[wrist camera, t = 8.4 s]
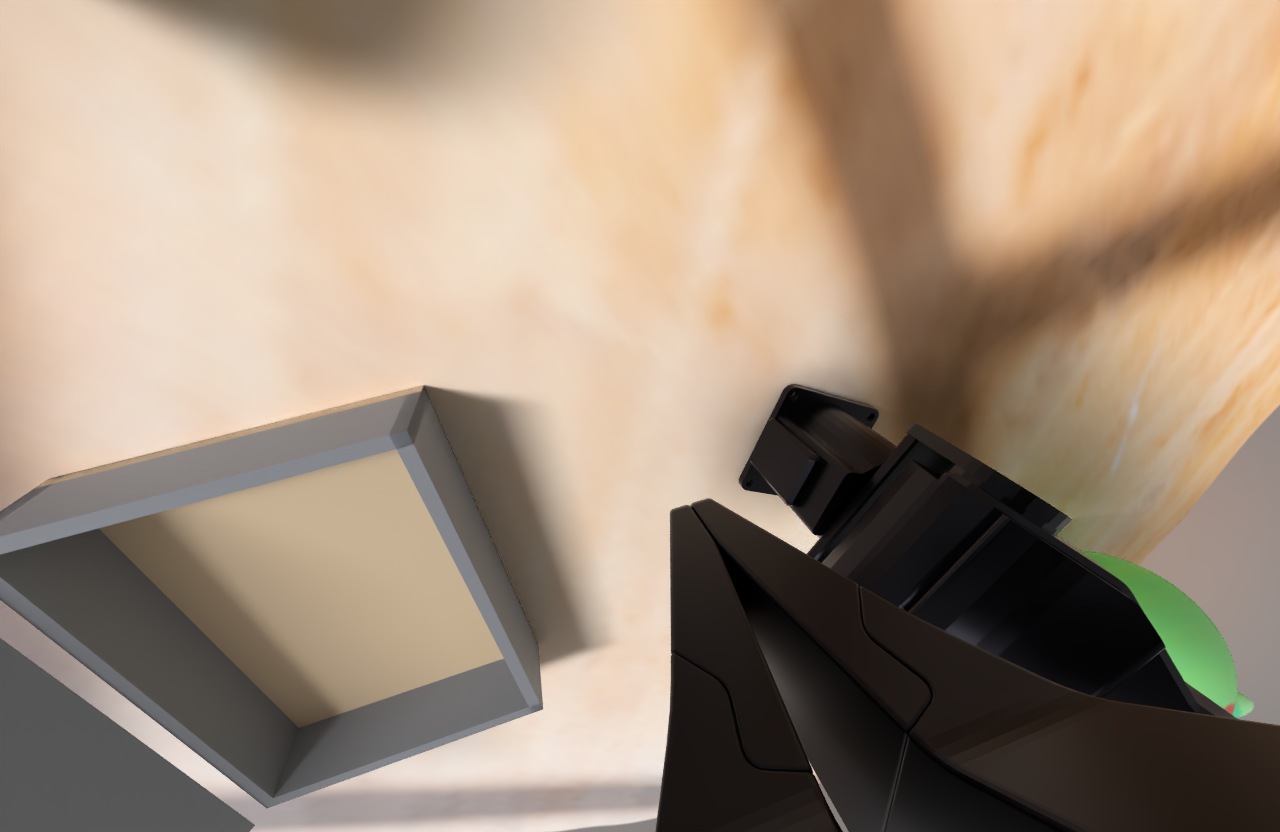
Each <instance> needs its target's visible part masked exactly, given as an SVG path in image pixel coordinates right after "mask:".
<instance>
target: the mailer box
mask: <svg viewBox="0 0 1280 832" xmlns="http://www.w3.org/2000/svg"><path fill="white" fill-rule="evenodd" d="M0 600H1V601H3V602H4V603H5V604H6V605H8V606H9V607H10V608H12V609H13V610H14V611H15V612H17V613H18V614H19V615H20V616H22V617H23V618H24V619H26V620H27V621H28V622H29V623H31V624H32V625H33V626H35V627H36V628H37V629H38V630H40V631H41V632H42V633H43V634H45V635H46V636H47V637H49V638H50V639H51V640H52V641H54V642H55V643H56V644H58V645H59V646H60V647H61V648H63V649H64V650H65V651H66V652H68V653H69V654H70V655H72V656H73V657H74V658H75V659H77V660H78V661H79V662H81V663H82V664H83V665H84V666H86V667H87V668H88V669H89V670H91V671H92V672H93V673H95V674H96V675H97V676H98V677H100V678H101V679H102V680H104V681H105V682H106V683H107V684H109V685H110V686H111V687H112V688H114V689H115V690H116V691H118V692H119V693H120V694H121V695H123V696H124V697H125V698H127V699H128V700H129V701H130V702H132V703H133V704H134V705H135V706H137V707H138V708H139V709H141V710H142V711H143V712H144V713H146V714H147V715H148V716H150V717H151V718H152V719H153V720H155V721H156V722H157V723H158V724H160V725H161V726H162V727H164V728H165V729H166V730H167V731H169V732H170V733H171V734H173V735H174V736H175V737H176V738H178V739H179V740H180V741H181V742H183V743H184V744H185V745H187V746H188V747H189V748H190V749H192V750H193V751H194V752H195V753H197V754H198V755H199V756H201V757H202V758H203V759H204V760H206V761H207V762H208V763H210V764H211V765H212V766H213V767H215V768H216V769H217V770H218V771H220V772H221V773H222V774H224V775H225V776H226V777H227V778H229V779H230V780H231V781H233V782H234V783H235V784H236V785H238V786H239V787H240V788H241V789H243V790H244V791H245V792H247V793H248V794H249V795H250V796H252V797H253V798H254V799H256V800H257V801H258V802H259V803H261V804H262V805H263V806H264V807H266V808H269V807H272V806H275V805H277V804H280V803H283V802H286V801H289V800H291V799H294V798H297V797H300V796H302V795H305V794H308V793H311V792H314V791H316V790H319V789H322V788H325V787H328V786H330V785H333V784H336V783H339V782H341V781H344V780H347V779H350V778H353V777H355V776H358V775H361V774H364V773H367V772H369V771H372V770H375V769H378V768H380V767H383V766H386V765H389V764H392V763H394V762H397V761H400V760H403V759H406V758H408V757H411V756H414V755H417V754H419V753H422V752H425V751H428V750H431V749H433V748H436V747H439V746H442V745H445V744H447V743H450V742H453V741H456V740H458V739H461V738H464V737H467V736H470V735H472V734H475V733H478V732H481V731H484V730H486V729H489V728H492V727H495V726H497V725H500V724H503V723H506V722H509V721H511V720H514V719H517V718H520V717H522V716H525V715H528V714H531V713H534V712H536V711H539V710H542V709H543V702H542V689H541V676H540V662H539V649H538V643H537V641H536V639H535V636H534V634H533V632H532V630H531V627H530V625H529V623H528V621H527V618H526V616H525V614H524V612H523V609H522V607H521V605H520V603H519V600H518V598H517V596H516V594H515V591H514V589H513V587H512V584H511V582H510V580H509V578H508V575H507V573H506V571H505V569H504V566H503V564H502V562H501V560H500V557H499V555H498V553H497V551H496V548H495V546H494V544H493V542H492V539H491V537H490V535H489V533H488V530H487V528H486V526H485V523H484V521H483V519H482V517H481V514H480V512H479V510H478V508H477V505H476V503H475V501H474V499H473V496H472V494H471V492H470V490H469V487H468V485H467V483H466V481H465V478H464V476H463V474H462V471H461V469H460V467H459V465H458V462H457V460H456V458H455V456H454V453H453V451H452V449H451V447H450V444H449V442H448V440H447V438H446V435H445V433H444V431H443V429H442V426H441V424H440V422H439V420H438V417H437V415H436V413H435V410H434V408H433V406H432V404H431V401H430V399H429V397H428V395H427V392H426V390H425V388H424V386H419V387H415V388H411V389H407V390H403V391H399V392H395V393H391V394H387V395H383V396H379V397H375V398H371V399H367V400H363V401H359V402H355V403H351V404H347V405H343V406H339V407H335V408H331V409H327V410H323V411H319V412H315V413H311V414H307V415H303V416H299V417H295V418H291V419H287V420H283V421H279V422H275V423H271V424H267V425H263V426H259V427H255V428H251V429H247V430H243V431H239V432H235V433H231V434H227V435H223V436H219V437H215V438H211V439H207V440H203V441H199V442H195V443H191V444H187V445H183V446H179V447H175V448H171V449H167V450H163V451H159V452H155V453H151V454H147V455H143V456H139V457H135V458H131V459H127V460H123V461H119V462H115V463H111V464H107V465H103V466H99V467H95V468H91V469H87V470H83V471H79V472H74V473H70V474H66V475H62V476H58V477H54V478H50V479H48V480H46V481H45V482H43V483H42V484H40V485H39V486H37V487H36V488H34V489H33V490H32V491H30V492H29V493H27V494H26V495H24V496H23V497H21V498H20V499H18V500H17V501H15V502H14V503H12V504H11V505H9V506H8V507H6V508H5V509H3V510H2V511H0Z"/></svg>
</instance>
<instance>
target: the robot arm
mask: <svg viewBox="0 0 1280 832" xmlns="http://www.w3.org/2000/svg"><path fill="white" fill-rule="evenodd" d="M793 392H795V393H794V395H793V396H792V397H790V395H791V394H792V393H793ZM869 414H870V415H869ZM868 415H869V416H868ZM867 416H868V417H867ZM878 416H879V412H878V411H877V410H876V409H874V408H873V407H871V406H868V405H865V404H861V403H857V402H854V401H850V400H847V399H843V398H840V397H836V396H833V395H829V394H826V393H822V392H819V391H815V390H812V389H808V388H805V387H801V386H798V385H793V384H791V385H788V386H787V387H786V388H785V389H784V390H783V392H782V394H781V396H780V398H779V400H778V402H777V404H776V406H775V408H774V410H773V412H772V414H771V416H770V418H769V420H768V422H767V424H766V426H765V428H764V430H763V432H762V434H761V436H760V438H759V440H758V442H757V444H756V446H755V448H754V450H753V452H752V454H751V456H750V458H749V460H748V462H747V464H746V466H745V468H744V470H743V472H742V474H741V476H740V478H739V484H740V485H741V486H742V488H743V489H745V490H748V491H754V492H760V493H766V494H772V495H778V496H779V497H780V498H781V499H782V500H783V501H784V503H785V504H786V505H788V506H790V508H791V509H792V510H793V511H794V512H795V513H796V515H797V516H798V517H799V518H800V519H801V520H802V522H803V523H804V524H805V525H806V526H807V527H808V529H809V530H810V531H811V532H812V533H813V534H814V535H817V536H818V537H819V538H820V539H819V540H818V541H817V542H816V543H815V545H814V546H813V547H812V548H811V549H810V551H809V552H808V553H807V554H805V553H803V552H802V551H800V550H798V549H797V548H795V547H793V546H791V545H790V544H788V543H786V542H784V541H783V540H781V539H779V538H778V537H776V536H774V535H772V534H771V533H769V532H767V531H766V530H764V529H762V528H760V527H759V526H757V525H755V524H754V523H752V522H750V521H748V520H747V519H745V518H743V517H741V516H740V515H738V514H736V513H735V512H733V511H731V510H729V509H728V508H726V507H724V506H723V505H721V504H719V503H717V502H716V501H714V500H712V499H709V498H708V499H704V500H700V501H697V502H694V503H692V504H691V506H689V505H684V506H681V507H678V508H675V509H672V510H671V511H670V579H671V654H672V655H671V693H670V715H669V725H668V735H667V746H666V753H665V761H664V769H663V777H662V785H661V792H660V800H659V808H658V816H657V824H656V831H655V832H843V831H842V830H841V828H840V826H839V825H838V823H837V821H836V820H835V818H834V816H833V814H832V812H831V810H830V808H829V806H828V804H827V802H826V800H825V797H824V795H823V793H822V791H821V789H820V787H819V784H818V782H817V780H816V778H815V776H814V775H813V771H812V768H811V766H812V767H813V769H814V771H815V773H816V774H817V776H818V778H819V780H820V781H821V783H822V785H823V787H824V789H825V790H826V792H827V794H828V796H829V797H830V799H831V801H832V803H833V804H834V806H835V808H836V809H837V812H838V813H839V815H840V817H841V818H842V821H843V822H844V824H845V826H846V827H847V829H848V831H849V832H1280V725H1274V724H1267V723H1260V722H1254V721H1247V720H1240V719H1237V718H1236V717H1234V716H1233V715H1232V714H1230V713H1229V712H1227V711H1226V710H1225V709H1223V708H1222V707H1220V706H1219V705H1217V704H1216V703H1215V702H1213V701H1212V700H1210V699H1209V698H1208V697H1206V696H1205V695H1203V694H1202V693H1201V692H1199V691H1198V690H1196V689H1195V688H1193V687H1192V686H1191V685H1189V684H1188V683H1186V682H1185V681H1184V680H1183V678H1182V676H1181V675H1180V673H1179V671H1178V669H1177V668H1176V666H1175V664H1174V663H1173V661H1172V659H1171V657H1170V656H1169V654H1168V652H1167V651H1166V649H1165V648H1166V647H1165V644H1164V642H1163V641H1162V639H1161V637H1160V636H1159V634H1158V633H1157V631H1156V630H1155V628H1154V627H1153V625H1152V624H1151V622H1150V621H1149V619H1148V618H1147V616H1146V615H1145V613H1144V612H1143V610H1142V608H1141V606H1140V605H1139V603H1138V601H1137V600H1136V598H1135V596H1134V595H1133V593H1132V591H1131V590H1130V589H1129V588H1128V586H1127V585H1126V584H1125V583H1123V582H1122V581H1121V580H1120V579H1118V578H1117V577H1116V576H1114V575H1113V574H1112V573H1110V572H1109V571H1108V570H1106V569H1105V568H1104V567H1102V566H1101V565H1100V564H1098V563H1097V562H1095V561H1094V560H1093V559H1091V558H1090V557H1088V556H1087V555H1085V554H1084V553H1082V552H1081V551H1079V550H1078V549H1076V548H1074V547H1073V546H1071V545H1070V544H1068V543H1067V542H1065V541H1064V540H1062V539H1061V538H1059V537H1058V536H1056V535H1057V534H1058V533H1059V532H1060V531H1061V530H1062V529H1063V528H1064V527H1065V526H1066V525H1067V524H1068V523H1069V522H1070V521H1071V520H1072V519H1071V518H1069V517H1068V516H1067V515H1065V514H1064V513H1062V512H1061V511H1059V510H1057V509H1056V508H1054V507H1053V506H1051V505H1050V504H1048V503H1047V502H1045V501H1043V500H1042V499H1040V498H1039V497H1037V496H1035V495H1034V494H1032V493H1031V492H1029V491H1028V490H1026V489H1024V488H1023V487H1021V486H1020V485H1018V484H1016V483H1015V482H1013V481H1011V480H1010V479H1008V478H1007V477H1005V476H1003V475H1002V474H1000V473H998V472H997V471H995V470H994V469H992V468H990V467H989V466H987V465H985V464H984V463H982V462H980V461H979V460H977V459H975V458H974V457H972V456H970V455H969V454H967V453H965V452H963V451H962V450H960V449H958V448H957V447H955V446H953V445H952V444H950V443H948V442H947V441H945V440H943V439H941V438H940V437H938V436H936V435H935V434H933V433H931V432H930V431H928V430H926V429H925V428H923V427H921V426H919V425H918V424H916V423H914V424H913V425H912V426H911V427H910V429H909V430H908V431H907V433H908V434H907V436H906V437H905V438H904V439H903V440H902V442H901V443H900V444H899V445H898V446H895V445H894V444H892V443H891V442H890V441H888V440H887V439H885V438H884V437H882V436H881V435H880V434H878V433H877V432H875V431H874V430H872V427H873V425H874V424H875V422H876V420H877V418H878ZM749 479H751V480H750V481H749V482H747V481H748V480H749ZM808 760H809V761H808ZM809 762H810V763H809ZM810 764H811V765H810Z"/></svg>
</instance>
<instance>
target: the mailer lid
mask: <svg viewBox="0 0 1280 832" xmlns="http://www.w3.org/2000/svg"><path fill="white" fill-rule="evenodd" d="M254 826H255V825H254V824H253V823H251V822H250V821H249V820H247V819H246V818H245V817H243V816H242V815H241V814H239V813H238V812H236V811H235V810H234V809H232V808H231V807H230V806H228V805H227V804H226V803H224V802H223V801H221V800H220V799H219V798H217V797H216V796H215V795H213V794H212V793H211V792H209V791H208V790H207V789H205V788H204V787H202V786H201V785H200V784H198V783H197V782H196V781H194V780H193V779H192V778H190V777H189V776H187V775H186V774H185V773H183V772H182V771H181V770H179V769H178V768H177V767H175V766H174V765H172V764H171V763H170V762H168V761H167V760H166V759H164V758H163V757H162V756H160V755H159V754H157V753H156V752H155V751H153V750H152V749H151V748H149V747H148V746H147V745H145V744H144V743H143V742H141V741H140V740H138V739H137V738H136V737H134V736H133V735H132V734H130V733H129V732H128V731H126V730H125V729H123V728H122V727H121V726H119V725H118V724H117V723H115V722H114V721H113V720H111V719H110V718H108V717H107V716H106V715H104V714H103V713H102V712H100V711H99V710H98V709H96V708H95V707H93V706H92V705H91V704H89V703H88V702H87V701H85V700H84V699H83V698H81V697H80V696H78V695H77V694H76V693H74V692H73V691H72V690H70V689H69V688H68V687H66V686H65V685H64V684H62V683H61V682H59V681H58V680H57V679H55V678H54V677H53V676H51V675H50V674H49V673H47V672H46V671H44V670H43V669H42V668H40V667H39V666H38V665H36V664H35V663H34V662H32V661H31V660H29V659H28V658H27V657H25V656H24V655H23V654H21V653H20V652H19V651H17V650H16V649H14V648H13V647H12V646H10V645H9V644H8V643H6V642H5V641H4V640H2V639H1V638H0V832H249V831H250V830H251V829H252V828H253V827H254Z"/></svg>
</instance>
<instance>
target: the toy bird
mask: <svg viewBox="0 0 1280 832" xmlns="http://www.w3.org/2000/svg"><path fill="white" fill-rule="evenodd" d="M1081 552H1082V553H1084V554H1085V555H1087V556H1088V557H1090V558H1091V559H1093V560H1094V561H1095V562H1097V563H1098V564H1100V565H1101V566H1102V567H1104V568H1105V569H1106V570H1108V571H1109V572H1110V573H1112V574H1113V575H1114V576H1116V577H1117V578H1118V579H1120V580H1121V581H1122V582H1123V583H1125V584H1126V585H1127V586H1128V588H1129V589H1130V590H1131V591H1132V593H1133V595H1134V596H1135V598H1136V600H1137V601H1138V603H1139V605H1140V606H1141V608H1142V610H1143V612H1144V613H1145V615H1146V616H1147V618H1148V619H1149V621H1150V622H1151V624H1152V625H1153V627H1154V628H1155V630H1156V631H1157V633H1158V634H1159V636H1160V637H1161V639H1162V641H1163V642H1164V644H1165V647H1166V648H1165V649H1166V651H1167V652H1168V654H1169V656H1170V657H1171V659H1172V661H1173V663H1174V664H1175V666H1176V668H1177V669H1178V671H1179V673H1180V675H1181V676H1182V678H1183V680H1184V681H1185V682H1186V683H1188V684H1189V685H1191V686H1192V687H1193V688H1195V689H1196V690H1198V691H1199V692H1201V693H1202V694H1203V695H1205V696H1206V697H1208V698H1209V699H1210V700H1212V701H1213V702H1215V703H1216V704H1217V705H1219V706H1220V707H1222V708H1223V709H1225V710H1226V711H1227V712H1229V713H1230V714H1232V715H1233V716H1234V717H1236V718H1238V717H1241V716H1244V715H1246V714H1248V713H1250V712H1251V711H1252V710H1253V708H1254V704H1253V702H1252V700H1251V699H1250V698H1248V697H1247V696H1245V695H1243V694H1241V693H1239V692H1237V675H1236V669H1235V665H1234V662H1233V659H1232V655H1231V653H1230V651H1229V648H1228V646H1227V644H1226V642H1225V640H1224V638H1223V637H1222V635H1221V633H1220V632H1219V630H1218V629H1217V627H1216V626H1215V625H1214V623H1213V622H1212V621H1211V619H1210V618H1209V617H1208V616H1207V615H1206V614H1205V612H1204V611H1203V610H1202V609H1201V608H1200V607H1199V606H1198V605H1197V604H1196V603H1195V602H1194V601H1193V600H1192V599H1191V598H1189V597H1188V596H1187V595H1186V594H1185V593H1183V592H1182V591H1181V590H1180V589H1178V588H1177V587H1175V586H1174V585H1173V584H1171V583H1170V582H1168V581H1167V580H1165V579H1164V578H1162V577H1160V576H1158V575H1157V574H1155V573H1153V572H1151V571H1149V570H1147V569H1145V568H1143V567H1141V566H1138V565H1136V564H1134V563H1131V562H1128V561H1125V560H1123V559H1119V558H1116V557H1113V556H1109V555H1105V554H1100V553H1095V552H1088V551H1081Z"/></svg>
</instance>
